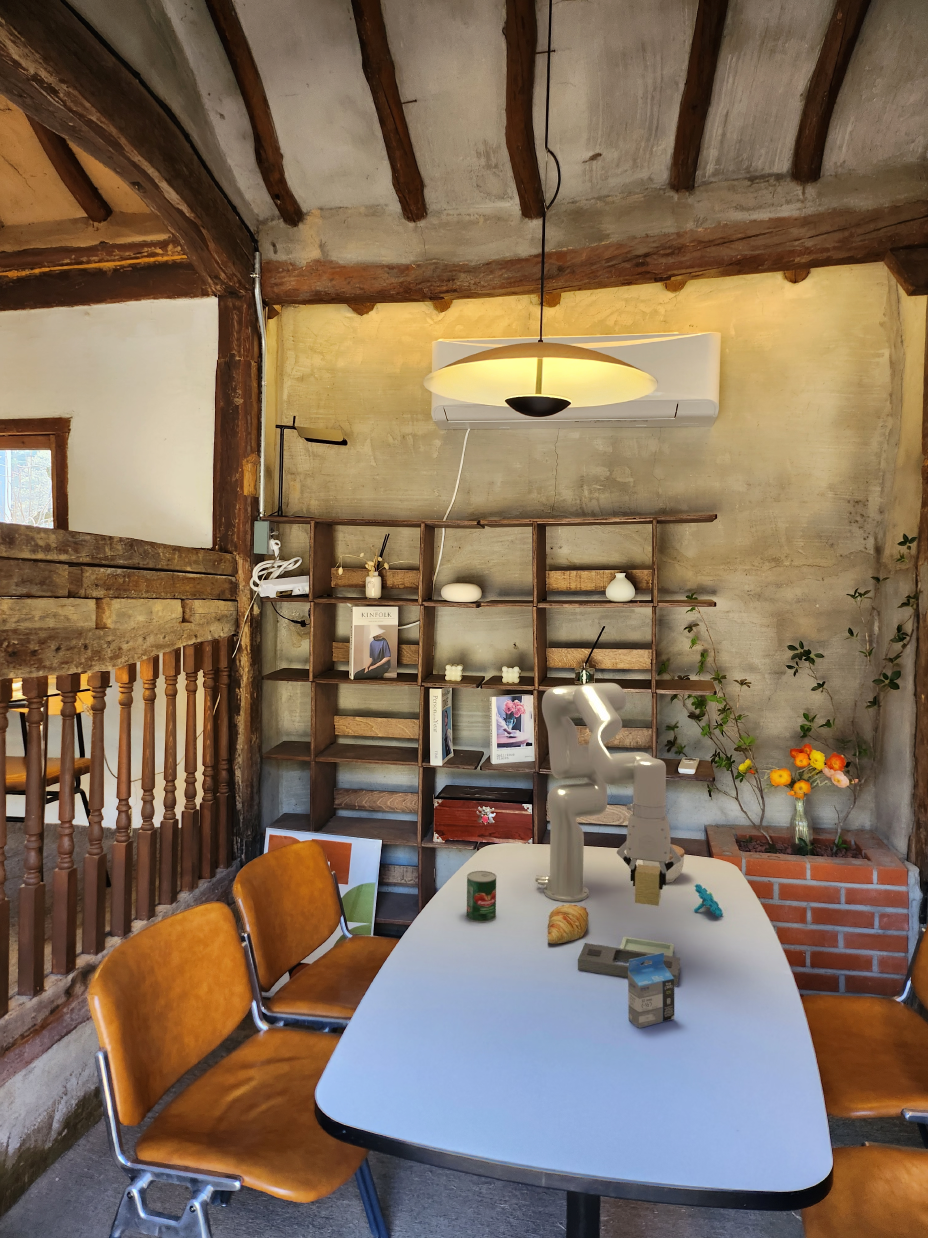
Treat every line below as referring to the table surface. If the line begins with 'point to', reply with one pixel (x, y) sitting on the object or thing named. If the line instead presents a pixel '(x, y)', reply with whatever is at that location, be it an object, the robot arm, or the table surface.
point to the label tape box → (650, 991)
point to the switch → (605, 957)
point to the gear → (707, 901)
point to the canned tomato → (481, 896)
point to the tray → (647, 946)
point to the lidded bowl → (675, 870)
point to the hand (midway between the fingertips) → (648, 885)
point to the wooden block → (647, 885)
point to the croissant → (567, 923)
